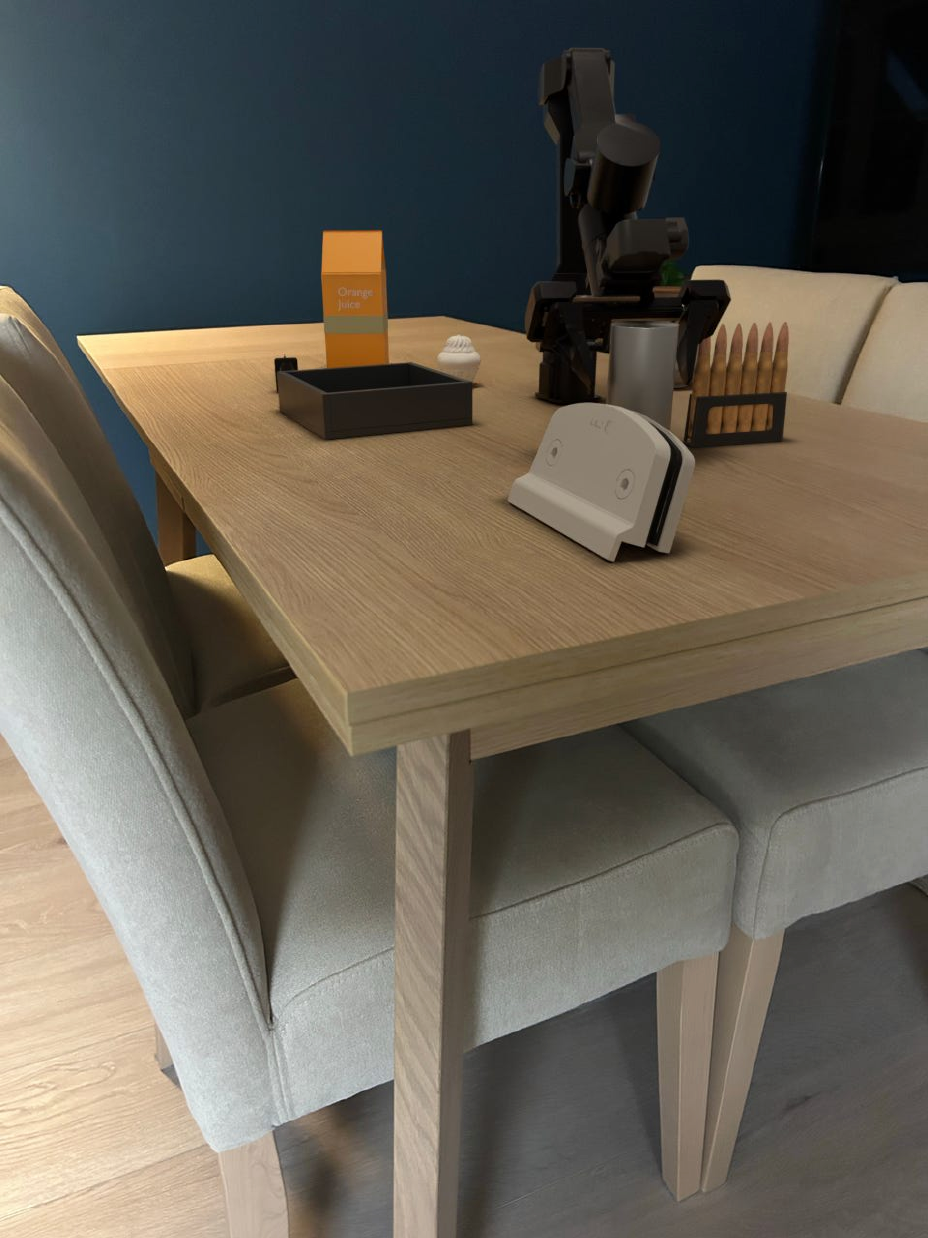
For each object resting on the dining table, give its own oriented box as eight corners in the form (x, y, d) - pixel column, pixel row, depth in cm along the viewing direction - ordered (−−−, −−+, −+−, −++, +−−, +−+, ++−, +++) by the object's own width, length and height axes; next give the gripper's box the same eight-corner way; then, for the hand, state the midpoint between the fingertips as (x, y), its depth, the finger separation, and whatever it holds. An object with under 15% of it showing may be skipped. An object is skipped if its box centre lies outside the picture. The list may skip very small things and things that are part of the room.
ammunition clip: (773, 437, 101) (788, 320, 96) (783, 440, 99) (798, 322, 94) (682, 443, 98) (693, 323, 93) (691, 447, 96) (702, 325, 92)
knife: (296, 397, 116) (293, 360, 114) (271, 397, 115) (268, 360, 114) (302, 384, 145) (301, 354, 143) (283, 384, 144) (281, 354, 143)
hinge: (505, 499, 78) (544, 382, 76) (551, 511, 80) (591, 398, 78) (610, 561, 64) (663, 420, 62) (663, 574, 66) (716, 438, 64)
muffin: (430, 387, 130) (429, 335, 127) (446, 380, 135) (446, 330, 132) (472, 390, 128) (472, 337, 125) (487, 383, 133) (487, 332, 130)
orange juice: (385, 375, 140) (380, 230, 132) (326, 375, 141) (317, 230, 133) (389, 367, 148) (385, 229, 140) (333, 367, 148) (325, 230, 140)
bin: (412, 399, 122) (411, 361, 120) (472, 424, 107) (472, 381, 105) (279, 411, 114) (276, 371, 113) (325, 439, 100) (322, 394, 98)
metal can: (641, 456, 93) (651, 319, 88) (679, 469, 88) (692, 325, 83) (590, 463, 90) (598, 322, 85) (626, 477, 85) (636, 329, 80)
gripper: (533, 184, 83) (558, 327, 77) (734, 185, 85) (772, 323, 80) (515, 274, 93) (535, 406, 88) (695, 273, 96) (726, 401, 90)
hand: (640, 384), depth 86 cm, fingers open, 9 cm apart
